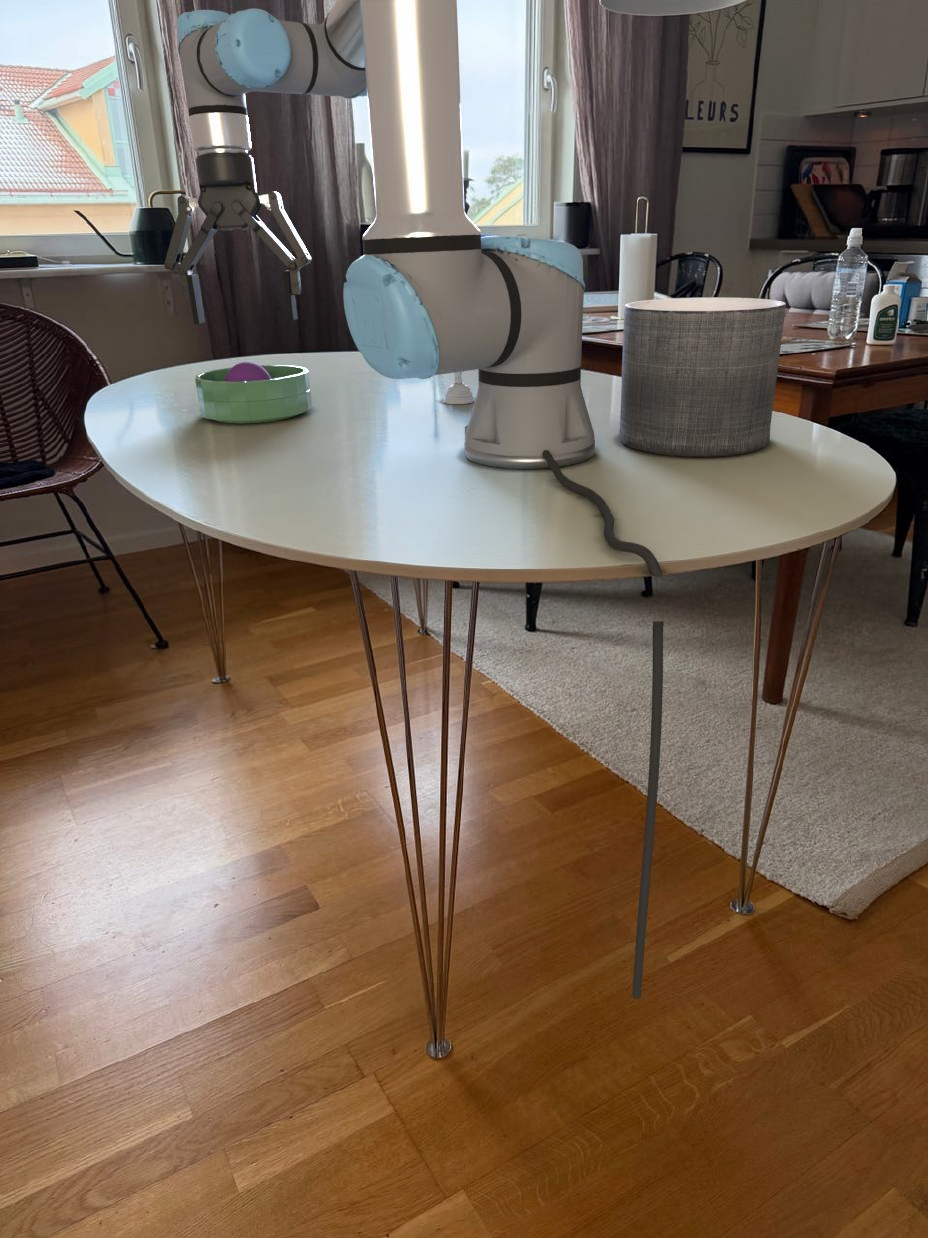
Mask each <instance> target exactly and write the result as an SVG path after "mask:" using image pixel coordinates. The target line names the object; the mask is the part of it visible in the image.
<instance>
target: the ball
mask: <svg viewBox="0 0 928 1238" xmlns="http://www.w3.org/2000/svg"><path fill="white" fill-rule="evenodd" d="M230 368H231V369H230V370H229V371H228V373H227V375H226V377H225V382H239V381H257V380H268V379H271V377H270V375H269V374H268V372H267V371H266V370H265V369H264V368H263V367H262V366H260V364H258V363H255V362H252V361H242V362H239V363H236V364H235V365H233V366H232V367H230Z"/></svg>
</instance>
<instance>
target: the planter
mask: <svg viewBox="0 0 928 1238" xmlns="http://www.w3.org/2000/svg"><path fill="white" fill-rule="evenodd" d="M786 306H787V303H786V302H784V301H781V300H776V299H769V298H754V297H753V298H752V297H718V296H717V297H716V296H715V297H675V298H674V297H673V298H672V297H671V298H659V299H658V298H657V299H646V300H638V301H632V302H628V303H625V304H624V309H623V333H622V335H623V336H622V360H621V385H620V386H621V387H620V388H621V390H620V391H621V393H620V414H619V429H618V439H619V441H620V442H621V444H623V445H624V446H626V447H628V448H631V449H633V450H637V451H641V452H646V453H650V454H656V455H662V456H672V457H683V458H685V457H686V458H717V457H719V458H720V457H730V456H737V455H742V454H749V453H753V452H756V451H759V450H762V449H763V448H765V447H767V446H768V445H769V443H770V438H771V427H772V425H771V424H772V417H773V409H774V402H775V401H774V400H775V395H776V386H777V378H778V371H779V363H780V354H781V347H782V341H783V340H782V339H783V330H784V324H785V315H786V308H787V307H786Z"/></svg>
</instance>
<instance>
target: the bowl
mask: <svg viewBox="0 0 928 1238" xmlns="http://www.w3.org/2000/svg"><path fill="white" fill-rule="evenodd" d="M259 365H260V364H259ZM260 366H262V367H263V368H264V369H265V370H266V371H267V372H268V374H269V375H270V377H271V379H268V380H257V381H239V382H225V377H226V375H227V373H228V371H229V370H230V369H231V368H232V367H225V368H224V367H223V368H218V369H213V370H208V371H204V372H201V373H198V374H197V375H195V376H194V380H195V381H194V382H195V387H196V394H197V400H198V406H199V414H200V417H202V418H204V419H206V420H212V421H213V420H214V421H216V422H220V423H224V424H225V423H226V424H259V423H268V422H270V423H271V422H277V421H281V420H287V419H291V418H294V417H296V416H298V415H300V414H304V413H306V412H308V411H309V410H310V409H312V408H313V403H312V394H311V393H312V392H311V384H310V375H309V369H307V368H306V367H303V366H298V365H290V364H289V365H288V364H261V365H260Z"/></svg>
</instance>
